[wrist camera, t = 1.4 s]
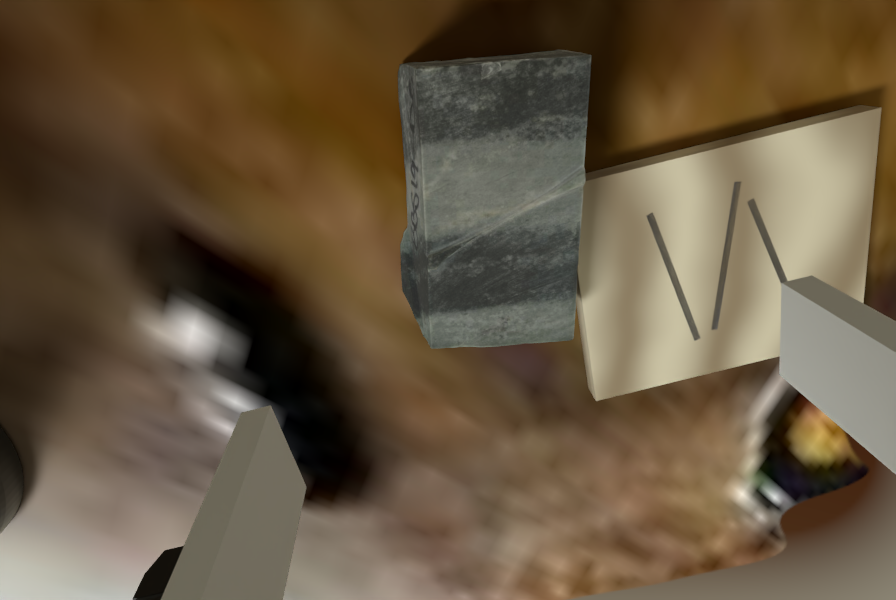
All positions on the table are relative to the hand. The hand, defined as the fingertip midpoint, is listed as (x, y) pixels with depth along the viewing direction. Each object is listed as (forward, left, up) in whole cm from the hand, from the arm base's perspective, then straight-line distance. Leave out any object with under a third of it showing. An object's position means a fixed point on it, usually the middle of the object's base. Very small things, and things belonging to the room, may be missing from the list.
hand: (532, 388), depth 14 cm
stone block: (+1, 0, -19) cm, 19 cm away
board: (+14, -7, -18) cm, 24 cm away
